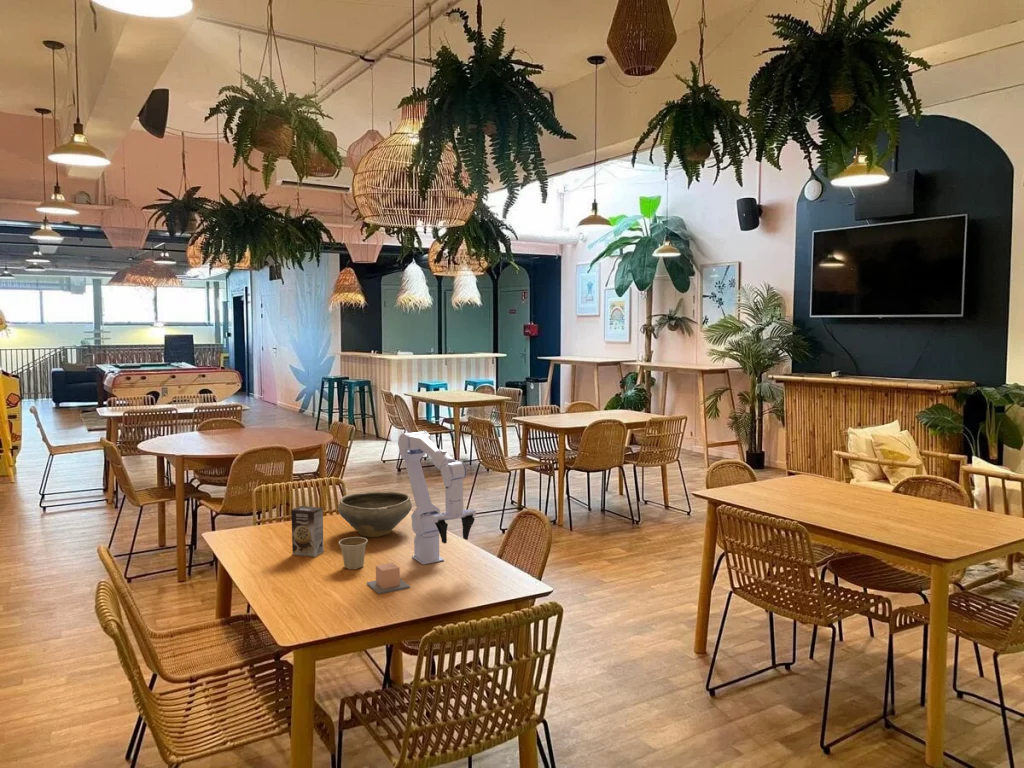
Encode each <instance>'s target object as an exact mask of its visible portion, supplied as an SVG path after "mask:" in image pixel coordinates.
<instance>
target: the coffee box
mask: <svg viewBox="0 0 1024 768" xmlns="http://www.w3.org/2000/svg"><path fill="white" fill-rule="evenodd" d="M290 510H291V544H292V545H291V547H292V550H291V551H292V552H291V553H292V555H293V556H302V557H311V558H312V557H314V558H316V557H317V556H319V555H321V554H323V553H324V508H323V507H316V506H306V505H301V506H298V507H297V506H296V507H294V508H293V509H290Z"/></svg>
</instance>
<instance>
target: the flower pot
mask: <svg viewBox="0 0 1024 768" xmlns="http://www.w3.org/2000/svg"><path fill="white" fill-rule="evenodd" d="M368 541H369V540H368V539H367V538H366V537H364V536H363V537H362V536H353V537H352V536H351V537H345V538H342V539H340V540H339V541H338V545H339V549H340V550H341V554H342V560H343V567H344V568H345V569H348V570H358V569H360V568H363V567H364V564H365V556H366V555H365V553H366V546H367V544H368Z"/></svg>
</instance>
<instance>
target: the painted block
mask: <svg viewBox="0 0 1024 768" xmlns="http://www.w3.org/2000/svg"><path fill="white" fill-rule="evenodd" d="M400 570H401V568H400V567H399V566H398V565H397V564H395V563H394V562H387V563H383V564H378V565H375V581H376V583H377V584H378V585H379V586H380V587H382V588H383V589H384V588H388V587H393V586H398V585H400V579H401V575H400Z"/></svg>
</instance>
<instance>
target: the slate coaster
mask: <svg viewBox="0 0 1024 768" xmlns="http://www.w3.org/2000/svg"><path fill="white" fill-rule="evenodd" d="M366 585H367V586H368V587H369V588H371V589H372V590H373V591H374V592H375V591H376V592H377V593H376V594H377V595H381V593H383V594H386V593H387V594H388V593H391V592H396V590H397V591H401V589H402V590H406V588H407V589H410V585H409V584H408V583H407V582H405V581H404V580H403V579H401V578H400V585H398V586H393V587H388V588H384V589H383V588H382V587H380V586H379V585H378V584H377V583H376V580H372V581H367V582H366Z"/></svg>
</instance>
